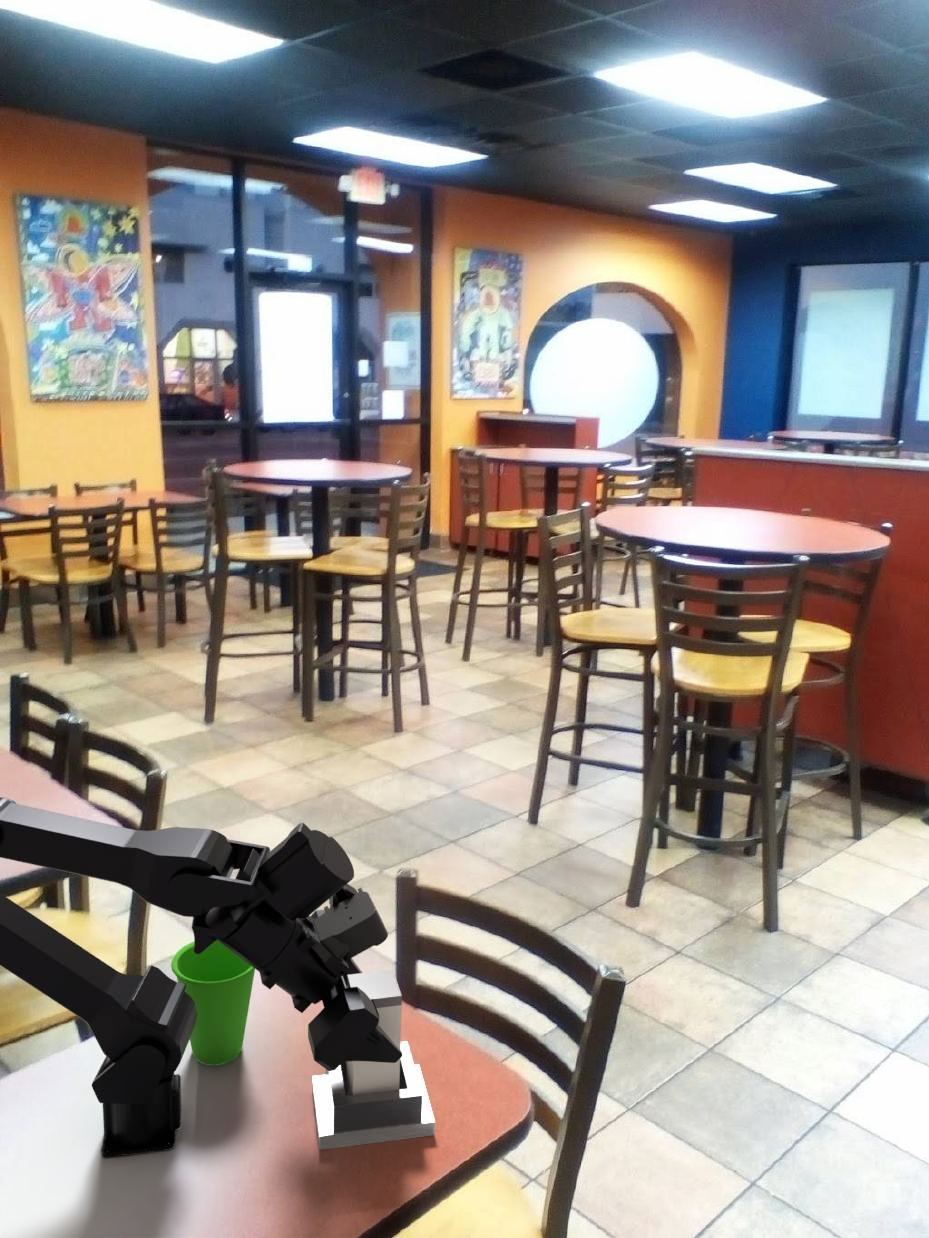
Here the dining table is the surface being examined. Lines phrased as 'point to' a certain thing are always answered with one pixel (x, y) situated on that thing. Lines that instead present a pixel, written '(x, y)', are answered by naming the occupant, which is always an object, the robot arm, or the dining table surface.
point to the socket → (372, 1108)
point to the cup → (216, 999)
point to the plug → (388, 1005)
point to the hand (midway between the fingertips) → (387, 1028)
